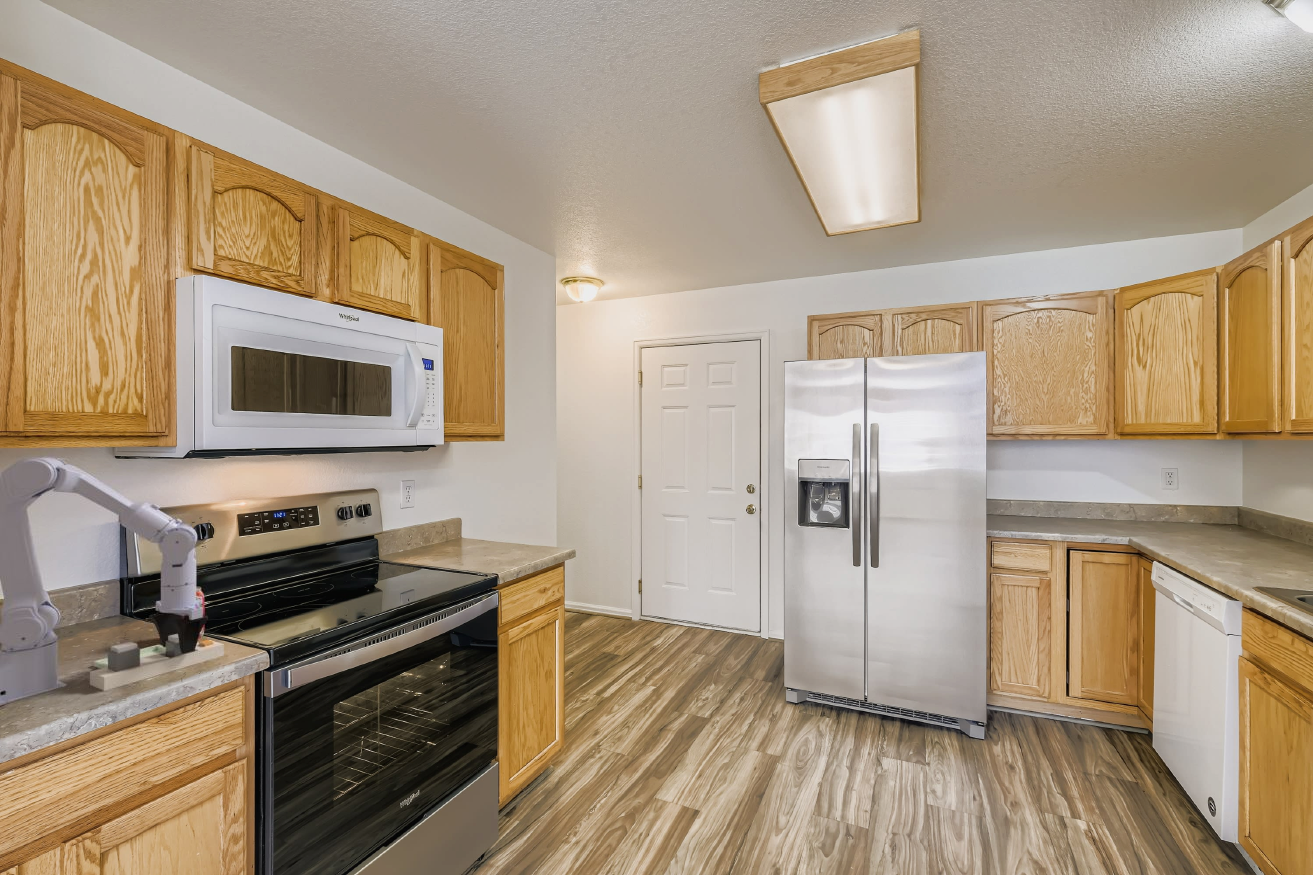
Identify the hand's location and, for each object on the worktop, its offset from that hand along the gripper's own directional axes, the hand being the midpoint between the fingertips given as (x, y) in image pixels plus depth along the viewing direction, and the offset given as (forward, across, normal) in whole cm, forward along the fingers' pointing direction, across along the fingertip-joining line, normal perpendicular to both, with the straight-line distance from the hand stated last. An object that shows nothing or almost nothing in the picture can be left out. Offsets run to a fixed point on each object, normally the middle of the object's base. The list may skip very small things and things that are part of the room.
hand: (178, 648), depth 122 cm
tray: (+4, +9, +3) cm, 10 cm away
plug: (+3, 0, 0) cm, 3 cm away
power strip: (+4, 0, +3) cm, 5 cm away
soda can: (+4, +18, -9) cm, 20 cm away
